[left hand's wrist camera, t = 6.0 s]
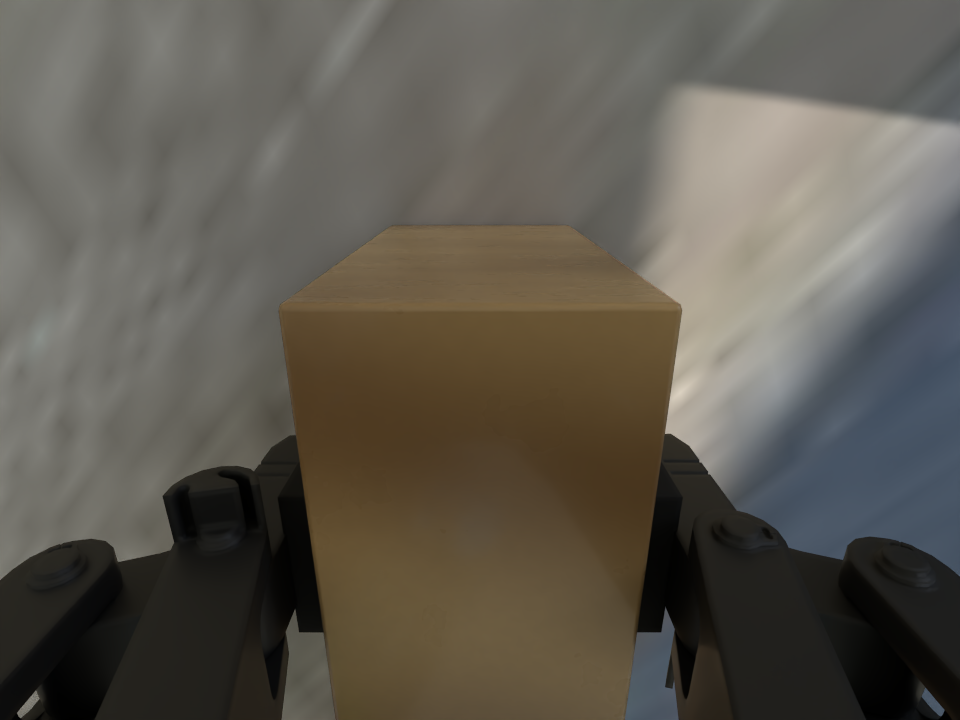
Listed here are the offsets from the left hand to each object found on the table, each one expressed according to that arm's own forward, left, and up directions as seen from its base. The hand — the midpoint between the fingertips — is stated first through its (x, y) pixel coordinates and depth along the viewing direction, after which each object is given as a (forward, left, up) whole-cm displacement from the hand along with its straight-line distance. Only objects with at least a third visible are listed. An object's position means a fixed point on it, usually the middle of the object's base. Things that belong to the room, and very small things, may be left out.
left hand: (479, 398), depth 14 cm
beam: (+24, +27, -1) cm, 36 cm away
